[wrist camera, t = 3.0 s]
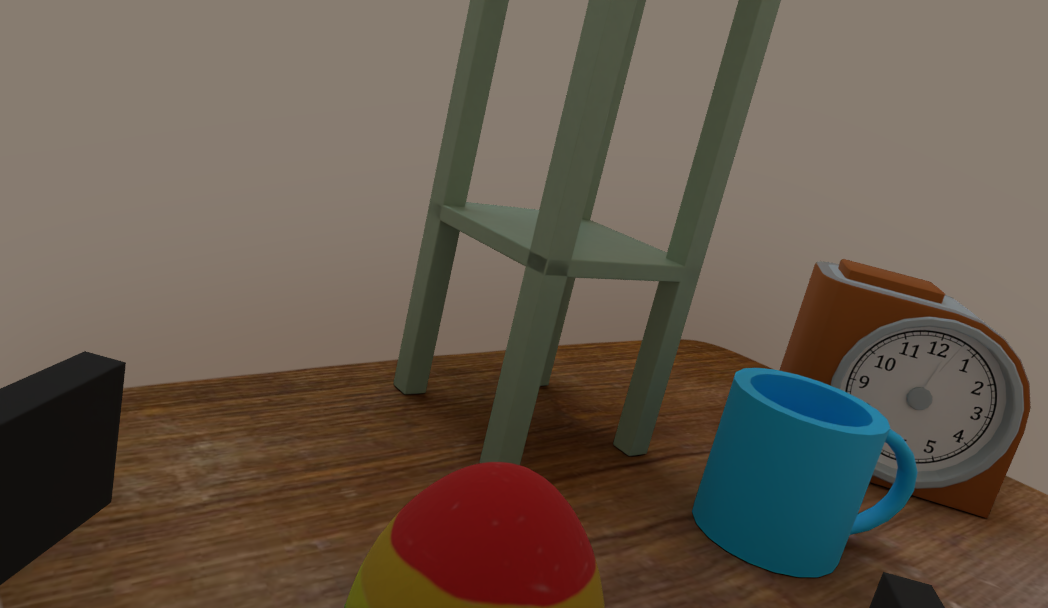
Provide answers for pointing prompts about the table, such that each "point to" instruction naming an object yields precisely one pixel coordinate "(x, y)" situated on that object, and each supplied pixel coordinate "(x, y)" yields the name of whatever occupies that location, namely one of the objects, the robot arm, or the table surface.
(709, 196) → the stand
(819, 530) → the mug
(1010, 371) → the alarm clock
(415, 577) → the decorative egg
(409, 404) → the table surface
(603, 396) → the table surface
